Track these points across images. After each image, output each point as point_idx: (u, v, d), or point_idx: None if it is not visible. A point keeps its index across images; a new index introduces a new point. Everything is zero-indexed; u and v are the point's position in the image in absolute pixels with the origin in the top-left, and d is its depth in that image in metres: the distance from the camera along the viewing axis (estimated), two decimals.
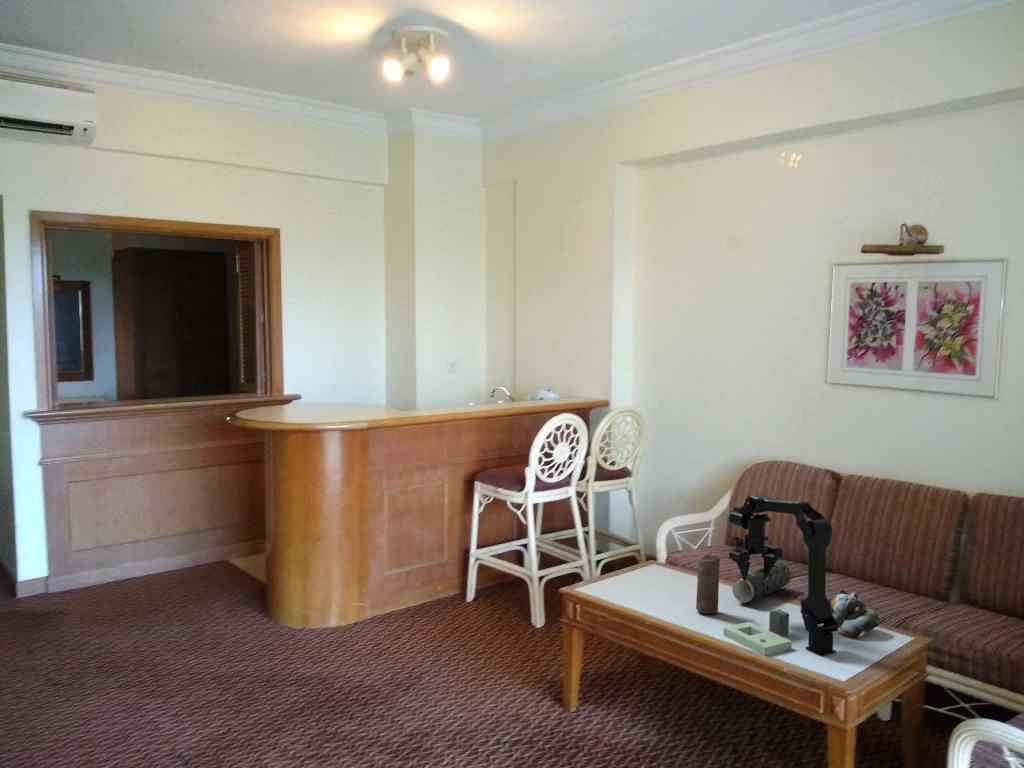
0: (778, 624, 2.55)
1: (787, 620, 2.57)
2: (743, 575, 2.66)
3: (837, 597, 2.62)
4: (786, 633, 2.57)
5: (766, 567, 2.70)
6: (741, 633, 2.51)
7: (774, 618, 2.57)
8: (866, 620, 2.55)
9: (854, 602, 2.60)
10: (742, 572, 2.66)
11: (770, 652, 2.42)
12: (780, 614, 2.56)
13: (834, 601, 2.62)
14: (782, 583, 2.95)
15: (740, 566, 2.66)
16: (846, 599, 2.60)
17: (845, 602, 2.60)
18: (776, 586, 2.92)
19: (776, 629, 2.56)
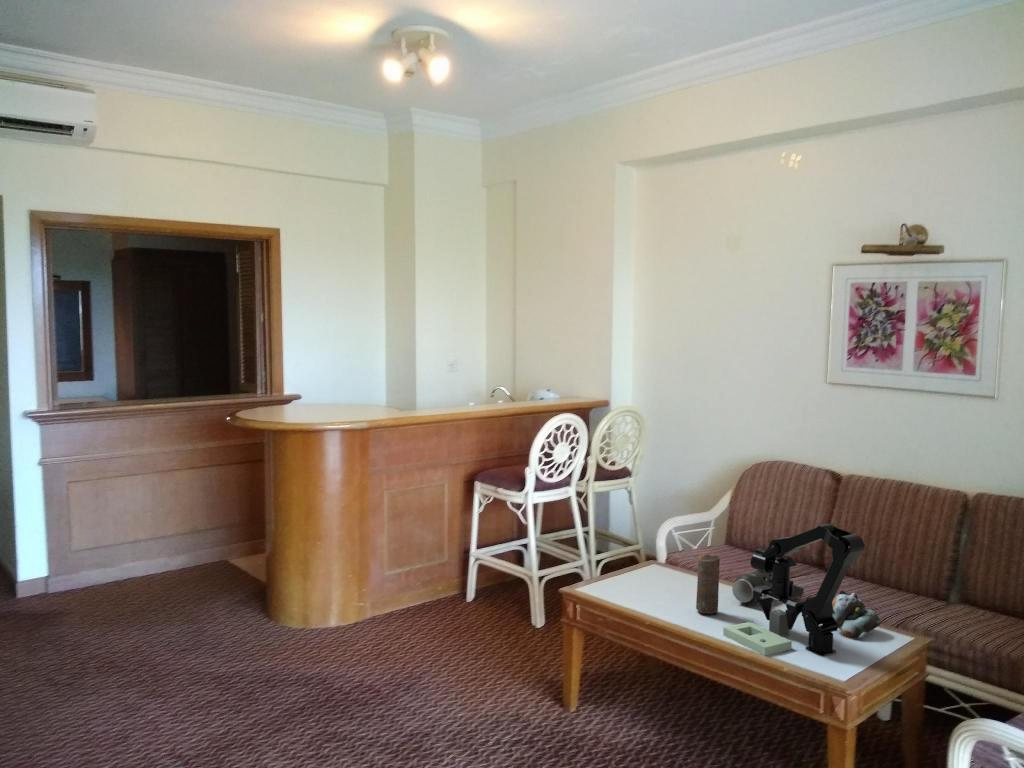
0: (778, 624, 2.55)
1: None
2: None
3: (837, 597, 2.62)
4: (786, 633, 2.57)
5: None
6: (741, 633, 2.51)
7: (774, 618, 2.57)
8: (867, 620, 2.55)
9: (854, 602, 2.60)
10: None
11: (770, 652, 2.42)
12: (780, 614, 2.56)
13: (834, 601, 2.61)
14: None
15: None
16: (846, 599, 2.60)
17: (845, 602, 2.59)
18: None
19: (776, 629, 2.56)
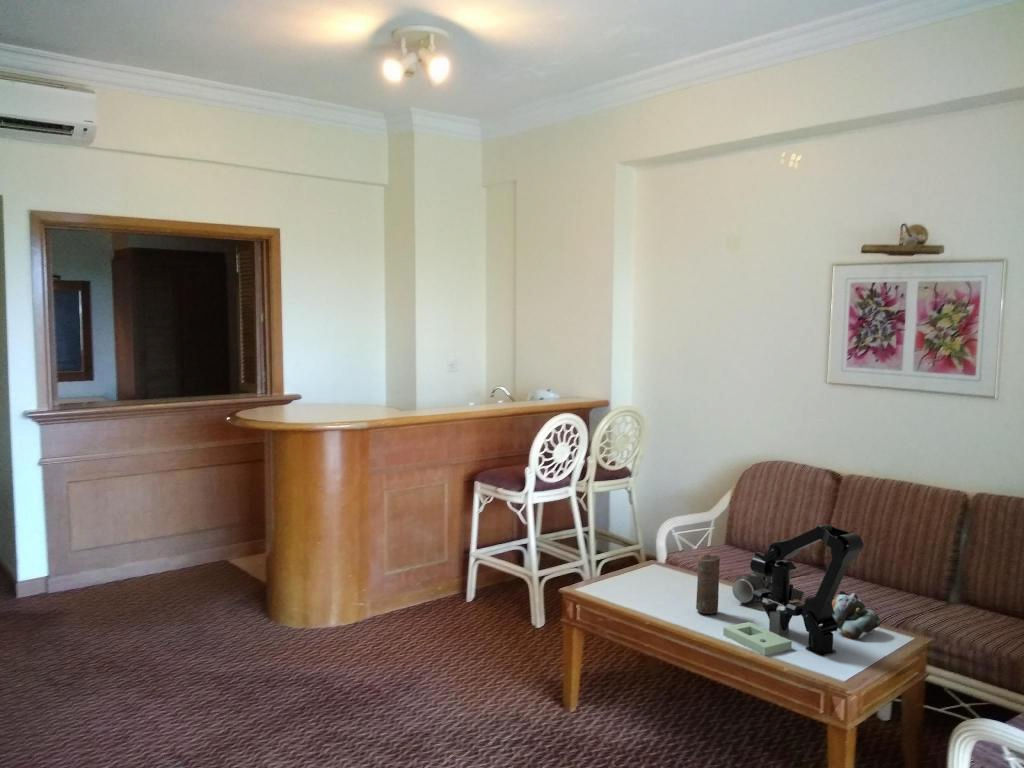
0: (779, 624, 2.55)
1: None
2: None
3: (837, 598, 2.61)
4: (786, 633, 2.57)
5: None
6: (741, 633, 2.51)
7: (774, 618, 2.57)
8: (867, 620, 2.54)
9: (854, 603, 2.59)
10: None
11: (770, 652, 2.42)
12: None
13: (834, 602, 2.61)
14: None
15: None
16: (846, 600, 2.60)
17: (845, 603, 2.59)
18: None
19: (776, 629, 2.56)
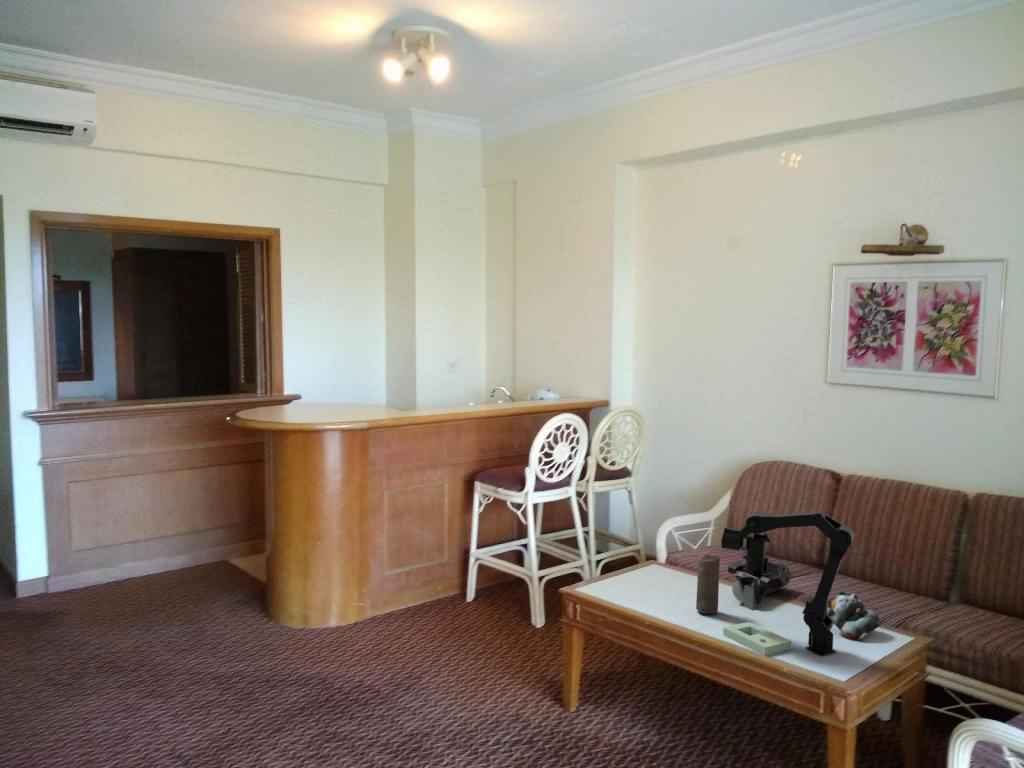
0: (753, 597, 2.51)
1: None
2: None
3: (837, 598, 2.61)
4: (760, 607, 2.52)
5: None
6: (741, 633, 2.51)
7: (748, 592, 2.53)
8: (867, 621, 2.54)
9: (854, 603, 2.59)
10: None
11: (770, 652, 2.42)
12: None
13: (834, 602, 2.60)
14: (782, 583, 2.95)
15: None
16: (846, 600, 2.59)
17: (846, 603, 2.58)
18: None
19: (750, 602, 2.52)
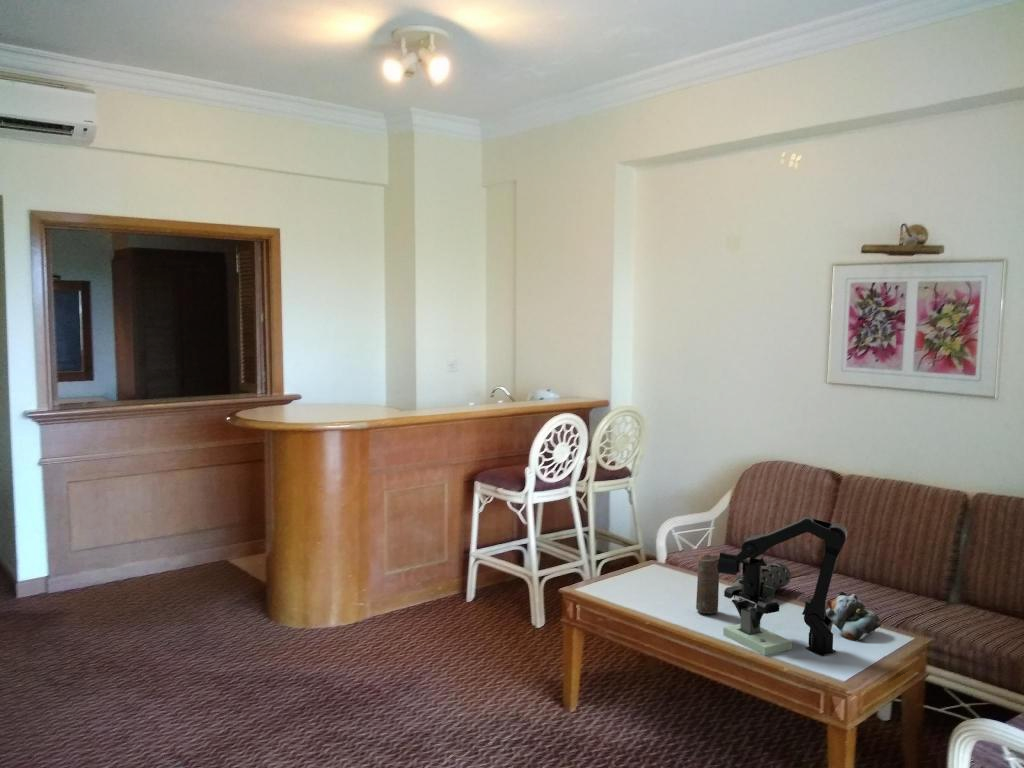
0: (749, 622, 2.51)
1: None
2: None
3: (837, 599, 2.60)
4: (757, 631, 2.52)
5: None
6: (741, 633, 2.51)
7: (745, 616, 2.52)
8: (867, 621, 2.54)
9: (854, 604, 2.59)
10: None
11: (770, 652, 2.42)
12: None
13: (835, 603, 2.60)
14: (782, 583, 2.95)
15: None
16: (847, 601, 2.59)
17: (846, 604, 2.58)
18: (776, 586, 2.92)
19: (747, 627, 2.51)
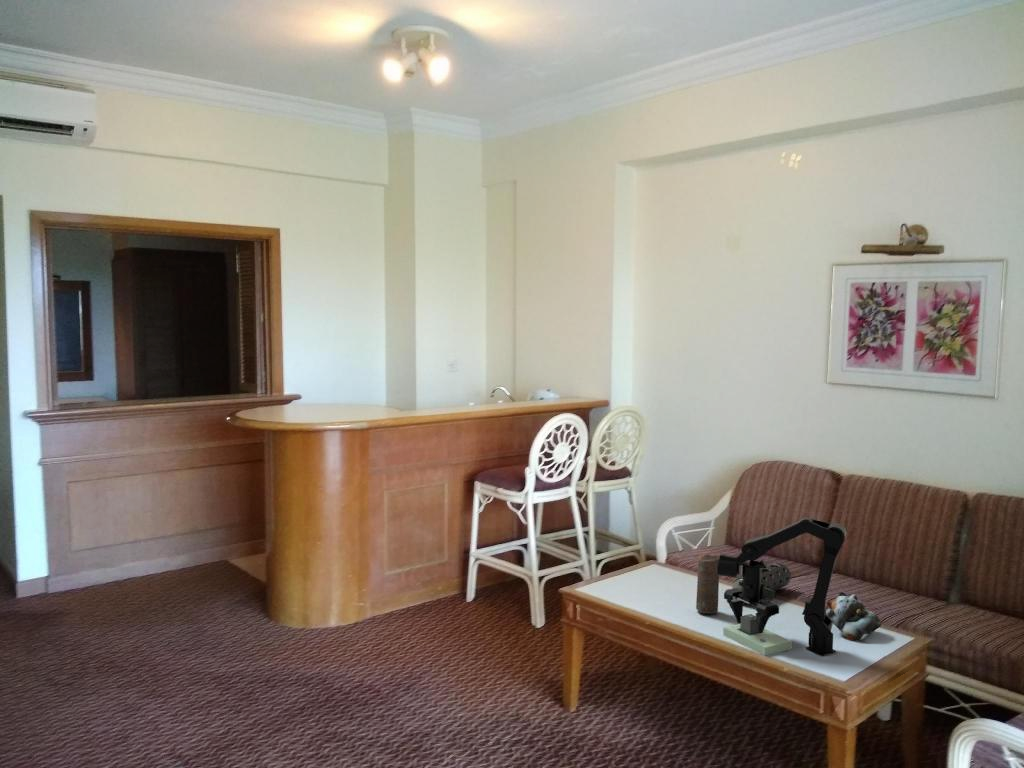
0: (749, 629, 2.51)
1: None
2: None
3: (837, 599, 2.60)
4: None
5: None
6: (741, 633, 2.51)
7: (745, 623, 2.52)
8: (868, 622, 2.53)
9: (855, 604, 2.58)
10: None
11: (770, 652, 2.42)
12: (751, 619, 2.51)
13: (835, 603, 2.59)
14: (782, 583, 2.95)
15: None
16: (847, 601, 2.58)
17: (846, 604, 2.57)
18: (776, 586, 2.92)
19: (747, 634, 2.52)
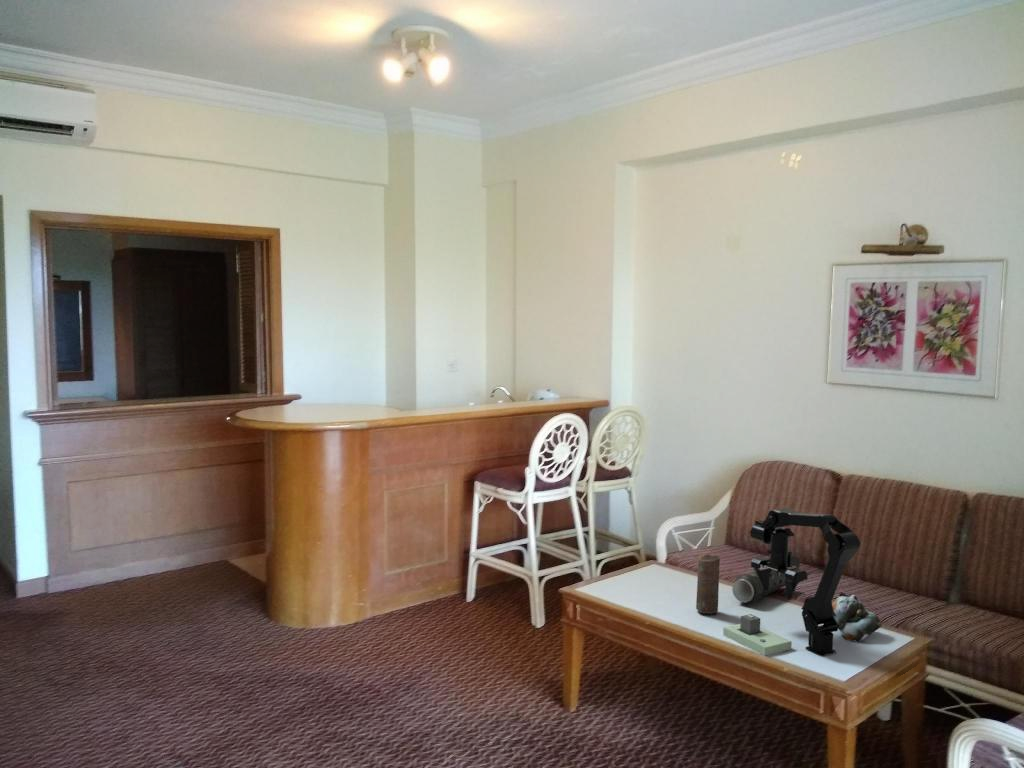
0: (749, 629, 2.51)
1: (758, 625, 2.52)
2: None
3: (838, 600, 2.59)
4: None
5: None
6: (741, 633, 2.51)
7: (745, 623, 2.52)
8: (868, 622, 2.53)
9: (855, 605, 2.58)
10: None
11: (770, 652, 2.42)
12: (751, 619, 2.51)
13: (835, 604, 2.59)
14: (782, 583, 2.95)
15: None
16: (847, 602, 2.58)
17: (846, 605, 2.57)
18: (776, 586, 2.92)
19: (747, 634, 2.52)
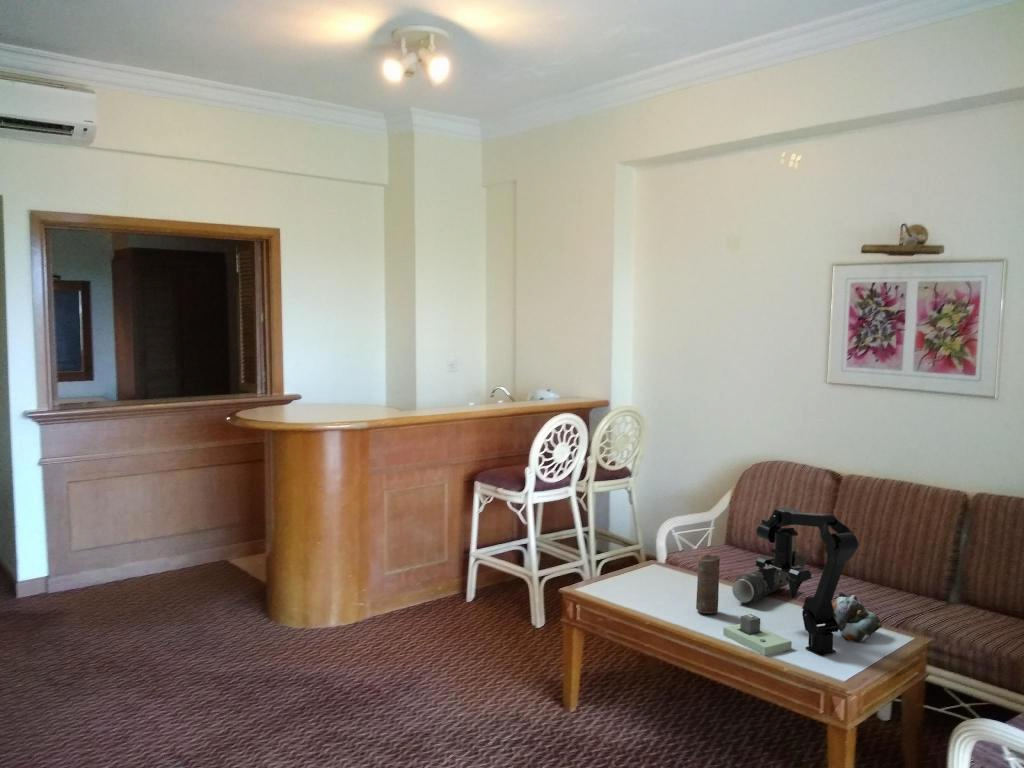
0: (749, 629, 2.51)
1: (758, 625, 2.52)
2: None
3: (838, 600, 2.59)
4: None
5: None
6: (741, 633, 2.51)
7: (745, 623, 2.52)
8: (869, 623, 2.52)
9: (855, 605, 2.57)
10: None
11: (770, 652, 2.42)
12: (751, 619, 2.51)
13: (835, 604, 2.58)
14: (782, 583, 2.95)
15: None
16: (847, 602, 2.57)
17: (846, 605, 2.57)
18: (776, 586, 2.92)
19: (747, 634, 2.52)
